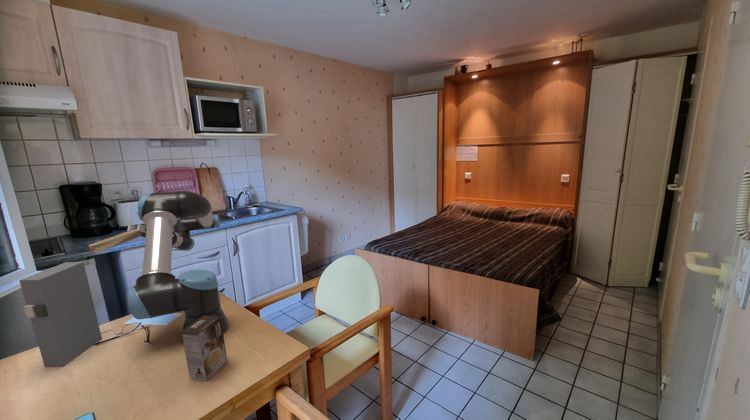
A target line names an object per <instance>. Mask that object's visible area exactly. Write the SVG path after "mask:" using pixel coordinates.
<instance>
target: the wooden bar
mask: <svg viewBox="0 0 750 420" xmlns="http://www.w3.org/2000/svg"><path fill="white" fill-rule="evenodd" d="M145 226H146V225H145ZM146 227H147V226H146ZM137 228H138V226H137ZM137 228H134V229H133V230H130V231H125V232H122V233H119V234H117V235H114V236H111V237H108V238H105V239H102V240H99V241H96V242H95V243H91V244H88V248H89V253H90V254H99V253H102V252H104V251H107V250H110V249H112V248H114V247H117V246H119V245H122V244H124V243H127V242H129V241H132V240H135V239H137V238H139V237H141V236H144V235H146V233H143V232H140V231H137Z"/></svg>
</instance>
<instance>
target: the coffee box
mask: <svg viewBox="0 0 750 420" xmlns="http://www.w3.org/2000/svg"><path fill="white" fill-rule="evenodd" d="M182 330H183V329H182ZM180 335H181V339H182V343H183V349H184V355H185V360H186V364H187V371H188V375H189V379H192V380H199V381H202V382H209V380H210V378H212V377H213V376H214V375H215V374H216V372H218V371H219V370H220V369H221V368H222V366H224V365H225V364H226V363H227V362H228V357H227V351H226V350H227V349H226V343H225V337H224V333H223V329H222V323H221V317H215V316H205V315H204V316H202V317H201V318H200V319H198V320H197V321H195V322H194V323H193V324H191V325H190V326H188V327H187V328H186V329H184V330H183V331H180Z"/></svg>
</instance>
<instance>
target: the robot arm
mask: <svg viewBox="0 0 750 420" xmlns="http://www.w3.org/2000/svg"><path fill="white" fill-rule="evenodd" d="M211 205H212V204H211V202H210V201H209V199H207V197H205V196H203V194H202V195H201V194H200V193H198V192H194V191H189V190H179V191H178V190H177V191H176V190H175V191H163V192H149V193H144V194H143V195H141V196H140V197H139V200H138V203H137V214H138V217H139V220H140V221H141V222H143V224H140V223H139V224H137V226H136V225H134V224H128V227H127V231H130V230H133V229H134V228H137V227H138V228H137V231H140V232H143V233H146V235H144V236H140V237H141V238H145V242H144V243H145V244H144V252H143V260H142V261H143V263H142V270H141V271H142V272H141V273H142V274H141V275H139V276H138V277H137V278H136V280H135V285H132V286H129V287H128V289H127V290H126V291H127V292H126V299H127V304H128V305H127V306H128V308H129V312H130V313H131V315H132V317H134V319H136V320H145V319H153V318H157V317H162V316H166V315H170V314H175V313H180V312H184V322H183V327H182V331H183V330H184V329H186V328H187V327H188V326H190V325H191V324H193V323H194V322H195V321H197V320H198V319H200V318H201V317H202V316H204V315H205V316H215V317H221V323H222V329H223V334H224V333H225V332H227V330H228V329H229V319H228V317H227V316H226V314H225V312H224V310H223V308H222V306H221V300H220V299H221V298H220V292H219V283H218V278H217V275H216V274H215V273H214V272H213V271H211V270H208V269H193V270H188V271H183V273H180V274H179V276H178V278H176V276H175V275H174V274H173V273H172V253H173V251H172V250H173V249H176V250H179V251H184V252H188V251H191V250H192V249H193V248H194V247H195V239H193V238H192V237H191V232H193V231H200V230H211V229H217V228H219V227H220V224H221V223H220V216H219V215H218V214H213V212H212V211H211V210H212V206H211ZM146 226H147V227H146ZM127 231H126V232H127Z"/></svg>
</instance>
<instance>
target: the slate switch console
mask: <svg viewBox="0 0 750 420" xmlns="http://www.w3.org/2000/svg"><path fill="white" fill-rule="evenodd" d="M19 284H20V286H21V287H20V288H21V291H22V294H23V297H24V302H25V305H24V306H23V310H24V313H25V315H26V318H30V322H31V325H32V328H33V332H34V335H35V339H36V342H37V345H38V348H39V349H38V350H39V352H40V355H41V358H42V363H43V365H44V367H45V368H49V367H50V368H52V367H53V368H58V367H59V368H62V367H63V368H64V367H65V366H66V365H68V364H69V363H70V362H72V361H73V360H74V359H76V358H78V357H80V355H82V354H83V353H85V352H86V351H88V350H89V349H91V348H92V347H94V346H95V344H97V343H98V342H100V341H102V339H103V338H102V333H101V329H100V325H99V320H98V316H97V313H96V309H95V304H94V300H93V296H92V292H91V288H90V283H89V279H88V275H87V272H86V268H85V263H84V261H65V262H63V263H60V264H58V265H55V266H53V267H50V268H48V269H44V270H42V271H39V272H37V273H34V274H31V275H29V276H26V277H23V278H21V279H19ZM77 356H78V357H77Z"/></svg>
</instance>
